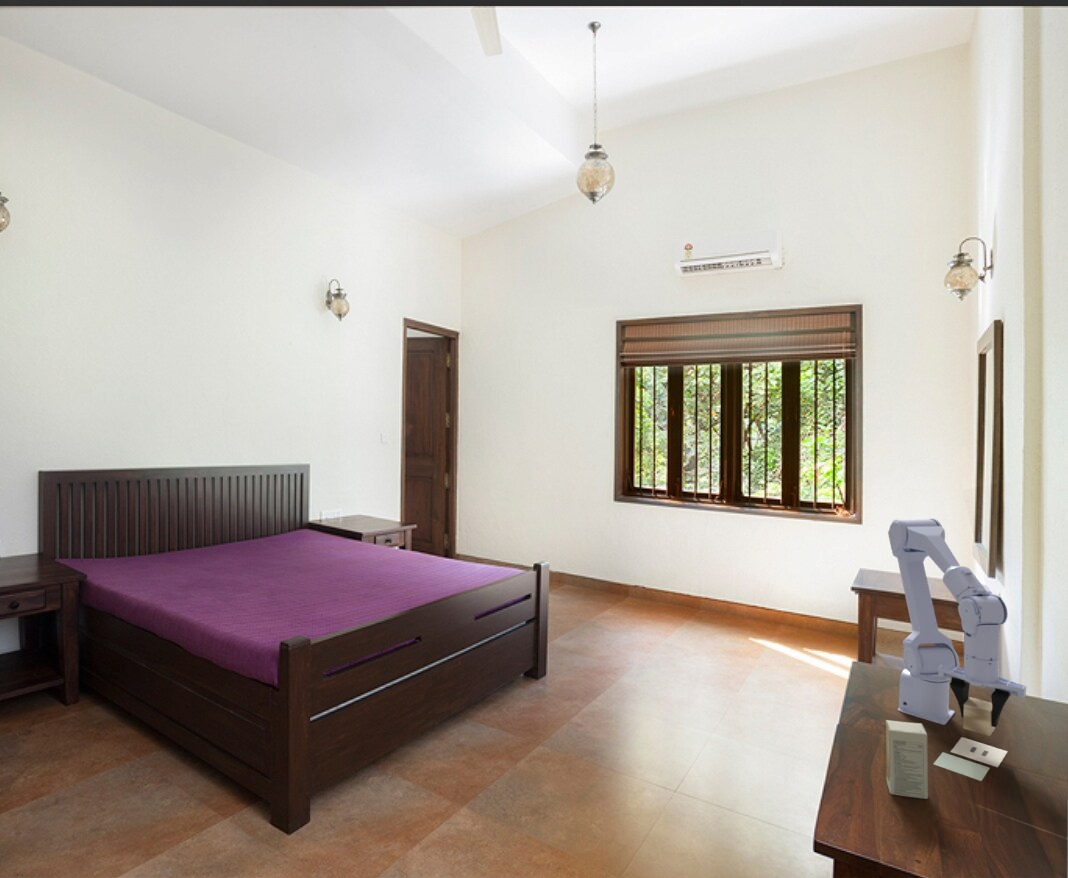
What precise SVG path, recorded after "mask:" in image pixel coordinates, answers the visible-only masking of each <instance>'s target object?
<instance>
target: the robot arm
mask: <svg viewBox="0 0 1068 878" xmlns="http://www.w3.org/2000/svg"><path fill="white" fill-rule="evenodd" d="M940 522H941V521H939V520H938V519H936V518H929V519H928V518H927V519H894V520H892V521H891V524H890V525H889V529H888V531H887V533H888V538H889V539H888V540H889V545H890V548H891V551H892V552H891V553H892V556H894V557H895V558H896V559H897V563H898V568H899V573H900V577H901V581H902V587H903V592H904V595H905V602H906V606H907V610H908V616H909V619H910V620H909V621H910V625H911V629H912V632H911V633H910V634H909V635H908V636H907V637H906V638H904V639H903V641H902V647H903V654H902V659H903V664H904V667H905V668H904V669H903V670H902V672H901V674H900V676H899V678H900V679H899V687H898V688H899V689H898V690H899V691H898V693H899V694H898V708H897V711H898V712H900V713H903V714H907V715H910V716H913V717H916V718H918V719H919V718H920V719H923V720H927V721H930V722H933V723H935V724H940V725H943V726H944V725H946V724H947V723H948V722H949V721H950V719H951V718H952V717H953V716H954V715H955V712H956V711H955V710H952V709H949V708H950V707H949V704H950V702H949V701H950V689H951V691H952V693H953V694H954V697H955V698H956V701H957V704H958V706H959V707H958V708H959V710H960V715H961V718H962V719H963V718H964V703H965V702H966V701H967V700H968V699H969V694H970V692H969V691H970V685H971V686H974V687H975V686H976V687H979V688H982V687H983V688H986V689H991V690H994V691H993V692H992V693H991V696H990V698H991V699H990V700H991V703H992V719H991V725H992V726H993V727H995V728H997V726H998V725H999V719H1000V716H1001V713H1002V711H1003V708H1004V706H1005V705H1006V703H1007V701H1008V700H1009V698H1010V697H1011V695H1014V696H1016V697H1017V698H1019V699H1025V697H1026V696H1027V686H1026V685H1023V684H1020V683H1017V682H1015V681H1011V680H1009V679H1006V678H1004V677H1000V676H999V663H1000V662H999V653H1000V652H999V651H1000V628H1001V627H1000V625H1004V624H1005V623H1006V622H1007V620H1008V608H1007V606H1006V603H1005V602H1004V600H1003V599H1002V597H1001V596H1000V595H998V594H994V593H992V591H990V590H989V591H988V590H987V589H986V588H985V587H984V585H983V584H982V583H981V582H980V580H979V579H978V578H977V577H976V575H975V574H974V573H973V571H972V570H971V569H970V568H969V567H967V566H964V565H963V566H962V565H960V563H959V562H958V560H957V559H956V557H955V555H954V554H953V552H952V550H951V549H950V548H949V545H948V544H947V542H946V540H945V539H946V532H945V531H946V530H945V529H944V527H943V526H942V524H941V523H940ZM927 557H929V558H930V559H931V560H932V562H934V564H935V565H936V566H937V568H939V569H940V571H941V572H942V573H943V576H942V582H943V584H944V586H945V587H946V588H947V589H948V591H949V592H950V593H951V595H952V596H953V598H954V600H955V601H956V603H958V605H957V611H958V615H959V617H960V619H961V628H962V630H963V631H964V644H963V645H964V648H963V649H964V651H963V656H964V657H963V659H964V660H963V667H960V658H959V655H958V653H957V652H956V650H955V647H954V645H953V641H952V639H951V638H949V636H947V635H945V634H943V633H942V632H941V631H939V626H938V621H937V618H936V614H935V608H934V604H933V601H932V600H933V599H932V595H931V592H930V591H931V590H930V588H929V582H928V578H927V573H926V569H925V565H924V561H925V559H926V558H927ZM920 645H925V646H920Z"/></svg>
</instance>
